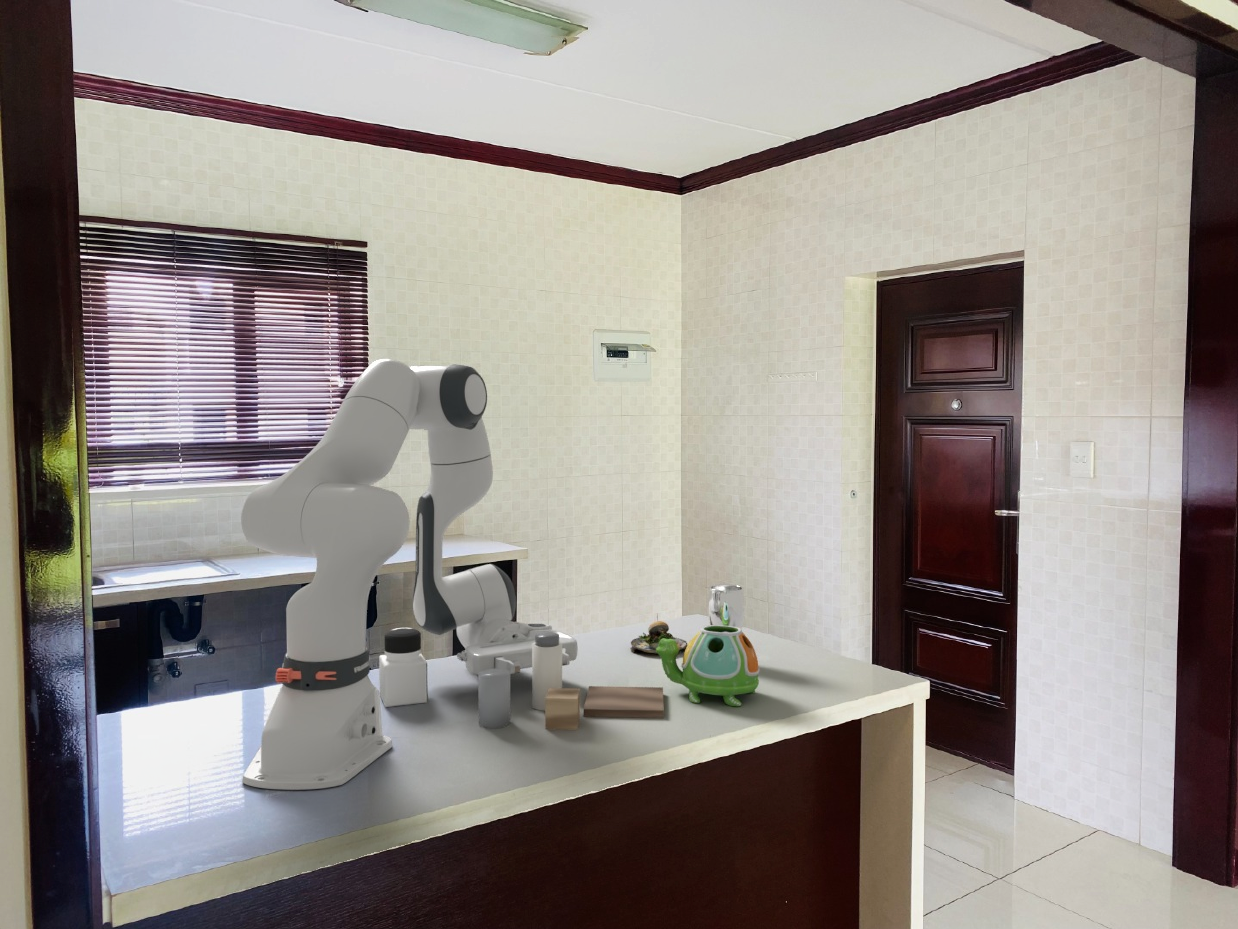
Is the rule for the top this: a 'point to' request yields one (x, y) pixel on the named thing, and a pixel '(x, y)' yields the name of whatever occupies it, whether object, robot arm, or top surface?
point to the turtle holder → (713, 663)
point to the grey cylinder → (494, 698)
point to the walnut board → (624, 702)
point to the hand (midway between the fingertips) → (541, 664)
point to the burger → (655, 638)
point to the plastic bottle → (545, 667)
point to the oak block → (562, 709)
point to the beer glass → (726, 605)
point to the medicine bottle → (403, 669)
